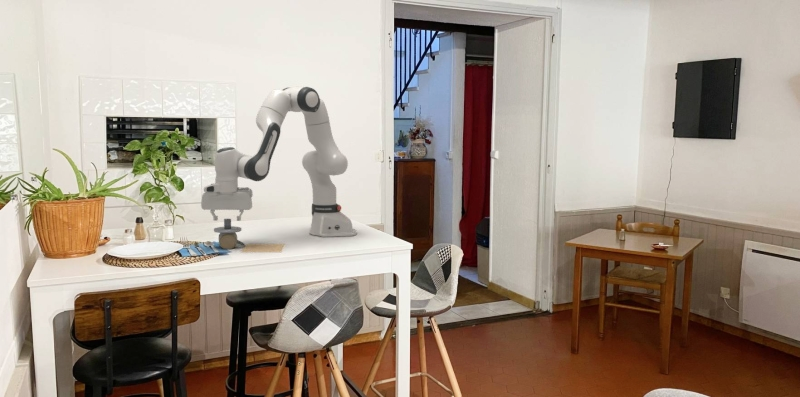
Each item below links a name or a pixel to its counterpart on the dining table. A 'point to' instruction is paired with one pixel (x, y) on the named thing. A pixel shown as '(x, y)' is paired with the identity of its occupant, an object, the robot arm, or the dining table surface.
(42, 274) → the dining table surface
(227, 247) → the ceramic mug
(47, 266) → the dining table surface
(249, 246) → the mat
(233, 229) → the lid
